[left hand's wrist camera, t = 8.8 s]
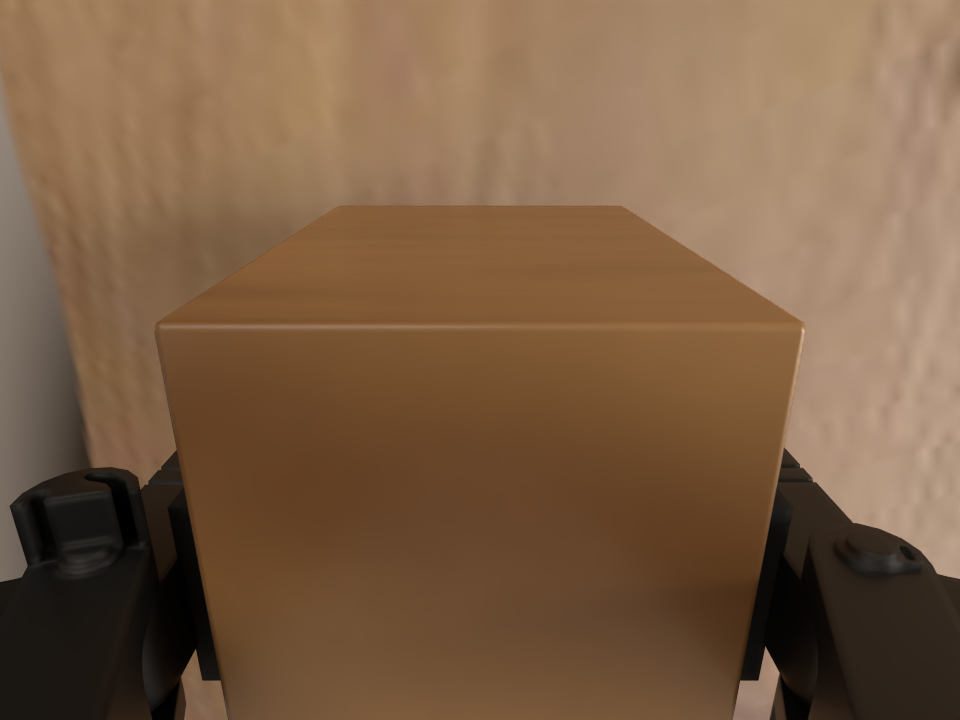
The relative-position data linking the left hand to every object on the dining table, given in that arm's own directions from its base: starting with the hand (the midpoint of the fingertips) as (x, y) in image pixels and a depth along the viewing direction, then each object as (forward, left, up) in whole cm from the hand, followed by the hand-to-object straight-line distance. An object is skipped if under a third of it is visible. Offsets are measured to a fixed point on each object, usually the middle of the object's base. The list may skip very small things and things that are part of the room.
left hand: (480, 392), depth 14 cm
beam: (+29, +6, -1) cm, 29 cm away
